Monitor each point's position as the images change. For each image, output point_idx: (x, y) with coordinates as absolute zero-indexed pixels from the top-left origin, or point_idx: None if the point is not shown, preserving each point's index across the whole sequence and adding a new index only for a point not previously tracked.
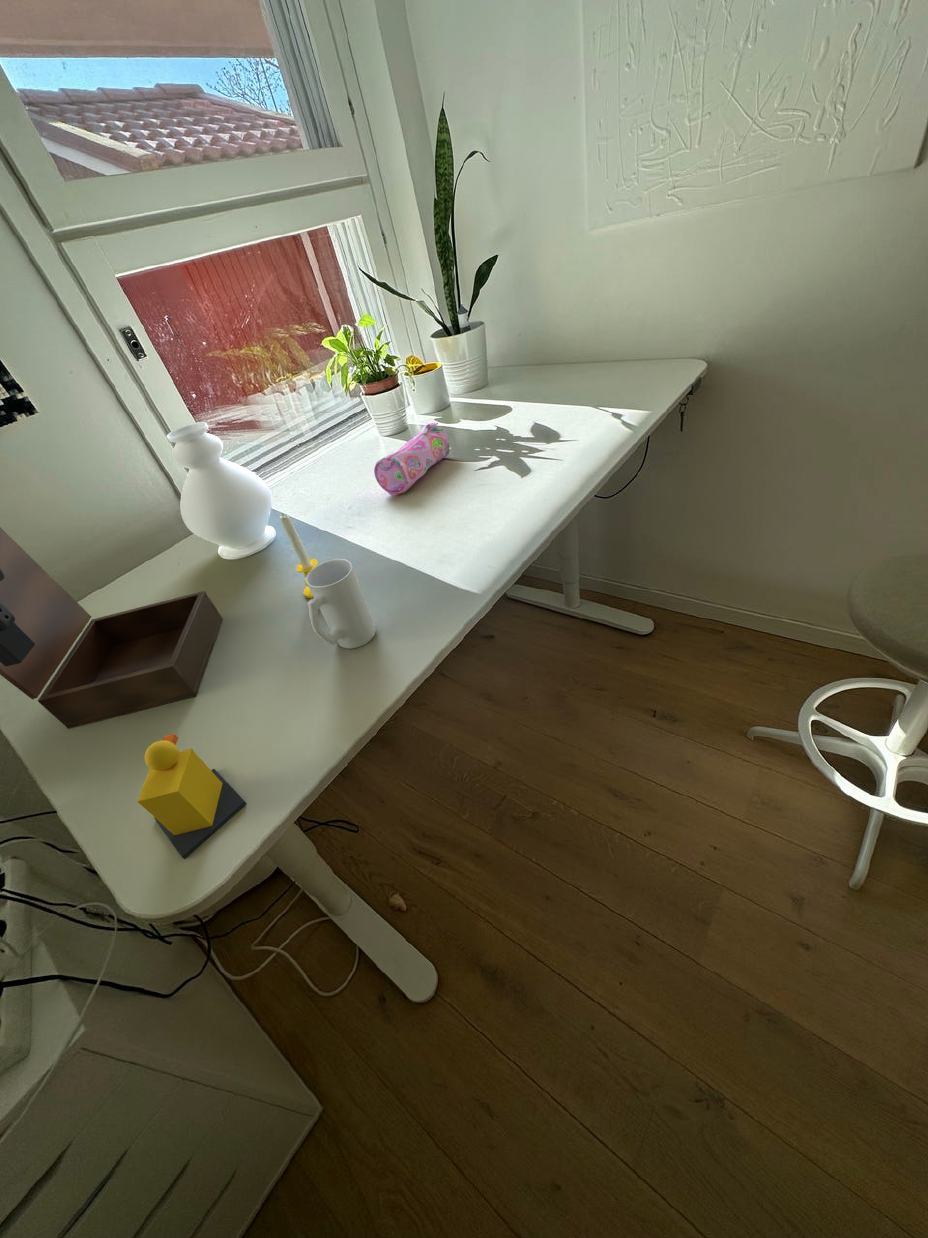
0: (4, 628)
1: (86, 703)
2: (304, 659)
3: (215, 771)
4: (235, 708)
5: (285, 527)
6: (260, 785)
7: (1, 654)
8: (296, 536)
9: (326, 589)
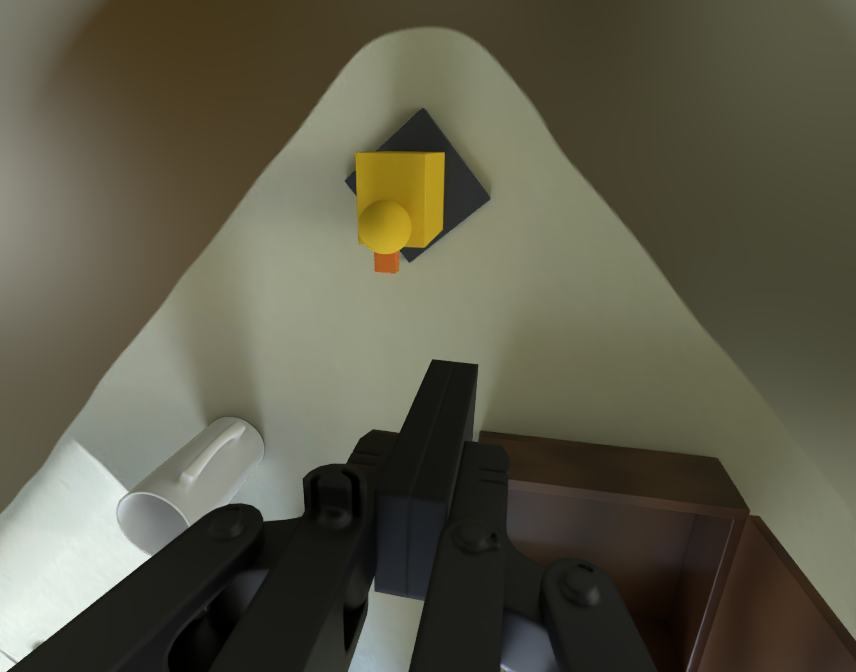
0: (378, 434)
1: (660, 477)
2: (310, 429)
3: (405, 255)
4: (405, 376)
5: None
6: (332, 208)
7: (449, 380)
8: None
9: (154, 489)
